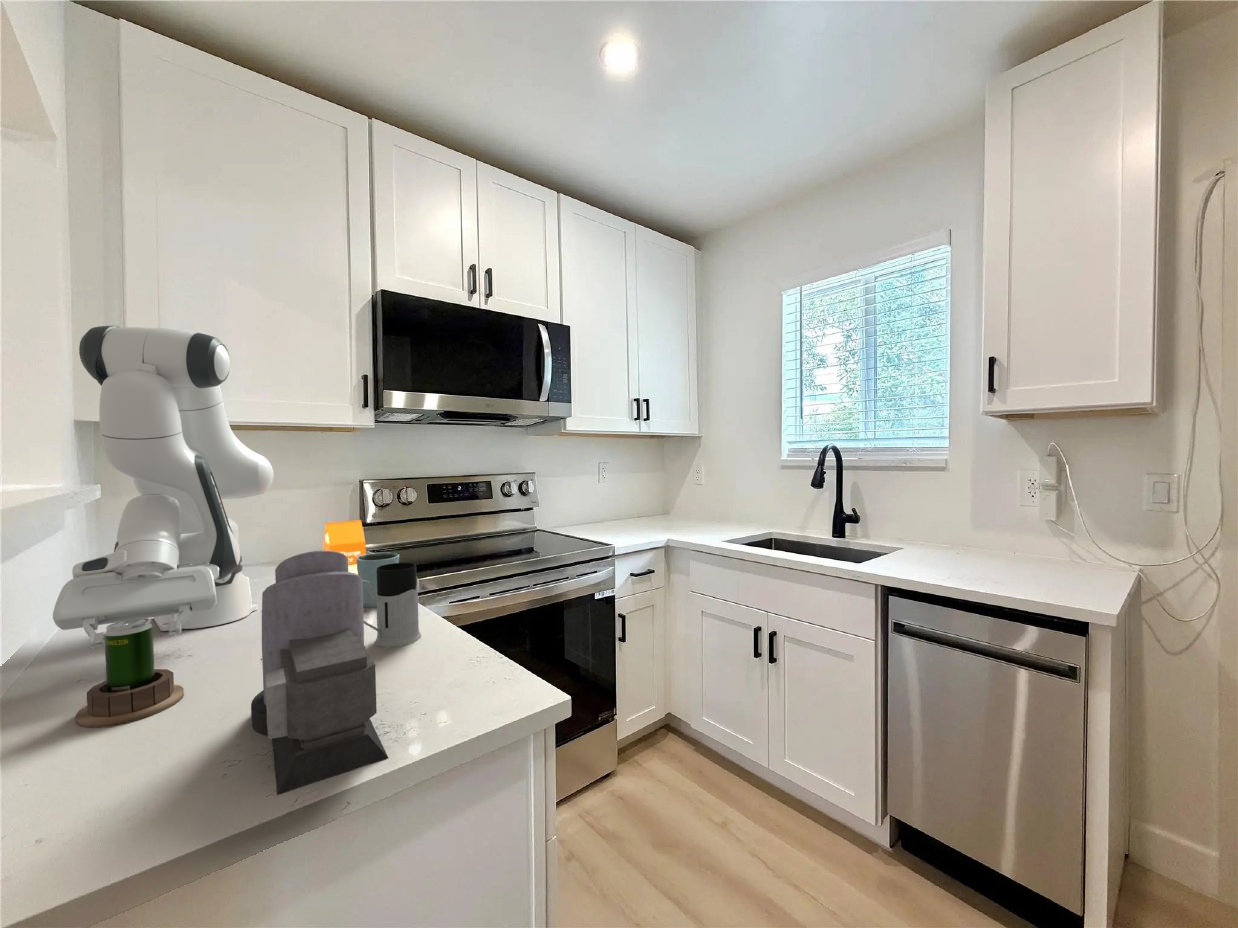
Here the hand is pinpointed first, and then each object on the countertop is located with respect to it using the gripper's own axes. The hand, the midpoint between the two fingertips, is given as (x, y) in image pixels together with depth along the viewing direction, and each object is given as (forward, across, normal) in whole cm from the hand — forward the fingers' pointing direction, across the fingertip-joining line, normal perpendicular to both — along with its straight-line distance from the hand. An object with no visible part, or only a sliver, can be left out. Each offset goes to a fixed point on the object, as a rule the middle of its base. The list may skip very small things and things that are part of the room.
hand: (136, 639), depth 84 cm
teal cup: (-16, -42, -28) cm, 53 cm away
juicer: (+27, -23, +14) cm, 38 cm away
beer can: (+10, 0, -2) cm, 10 cm away
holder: (+7, -37, -6) cm, 38 cm away
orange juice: (-26, -36, -38) cm, 58 cm away
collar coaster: (+10, 0, -2) cm, 11 cm away
